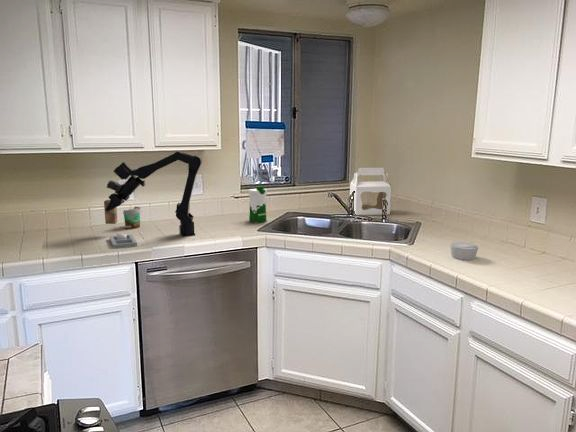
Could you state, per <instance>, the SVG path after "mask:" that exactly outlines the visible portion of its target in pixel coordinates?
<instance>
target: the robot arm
mask: <svg viewBox="0 0 576 432" xmlns="http://www.w3.org/2000/svg"><path fill="white" fill-rule="evenodd" d="M176 161H180V162H182V163H185V164H187V165H188V167H187V168H188V169H187V170H188V171H187V172H188V174H187V179H186V182H185V187H184V190H183V193H182V194H183V195H182V198H181V202H177V204H176V209H175V211H174V213H175V217H176V218H177V220H179V225H178V232H179V235H181V236H182V237H188V236H189V237H190V236H196V233H195V222H194V218H195V217H194V215H193V214H191V212H190V206H191V204H190V203H191V197H192V193H193V189H194V186H195V182H196V177H197V174H198V172H199V170H200V168H201V165H202V163H203V159H202V157H201V156H200V155H197V154H195V155H194V154H193V155H191V154H190V153H189V154H188V153H184V152H183V151H181V150H180V151H179V150H177V151H176V152H174V153H172V154H170V155H168V156H166V157H164V158H161V159H160V160H158V161H156V162H152V163H149V164H145V165H142V166H140V167H138V168H134V169H132V168H130V166H129V165H128V163H126V162H125V161H122V163H120V164H119V165H118V166H117V167H116V168H115V169H114V170H113V173H114V174H115V175H116V176H117V177H118V178H119V179H121V180H125V182H124V183H123V184H122V183H121V184H120V183H119V182H116V181H114V180H108V182H107V184H106V188H107V189H111V190H113V191H114V192H113V193H111V194H109V196H108V200H110V203H109V205H108V206H107V208H106V211H109V210H111V209H113V208H118V207H119V206H121V205H122V204H124V203H125V202H127V201H128V200H129V199H130V196H131V195H132V194H133V193H134V192H135V191H136V189H138V188H139V187H140V186H141V187H145V186H146V180H145V179H146V178H148V177H151V175H153V174H154V173H155V172H157V171H158V170H160V169H162V168H164V167H167V166H168V165H171V164H173V163H175V162H176Z"/></svg>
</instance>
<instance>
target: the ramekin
mask: <svg viewBox="0 0 576 432" xmlns="http://www.w3.org/2000/svg"><path fill="white" fill-rule="evenodd" d="M449 247H450V255H451V257H452V258H453V259H455V260H462V261H471V260H472V261H473V260H474V259H476V257H477V253H478V250H479V246H478V245H477V244H474V243H472V242H471V243H470V242H466V241H465V242H462V241H457V242H456V241H455V242H452V243H450V244H449Z"/></svg>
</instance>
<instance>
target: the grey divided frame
mask: <svg viewBox="0 0 576 432" xmlns="http://www.w3.org/2000/svg"><path fill="white" fill-rule="evenodd" d="M109 241H110V243H111V246H112V248H113V249H123V248H131V247H138V242H137V241H136V239H135V238H134V236H133V235H132V233H131V234H127V233H118V234H116V235H110V236H109Z"/></svg>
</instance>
